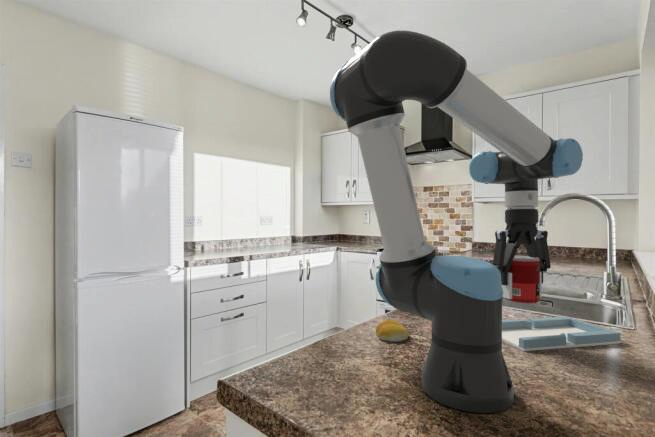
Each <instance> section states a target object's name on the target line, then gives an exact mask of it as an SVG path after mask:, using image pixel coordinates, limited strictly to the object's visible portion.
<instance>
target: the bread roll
mask: <svg viewBox="0 0 655 437" xmlns="http://www.w3.org/2000/svg"><path fill="white" fill-rule="evenodd" d="M375 334H376V335H377V336H378V339H380V340H381V341H385V342H391V343H392V342H393V343H394V342H395V343H398V342H403V341H405V340H407V339H408V338H409V331H408V329H407V327H405V326H404V325H403V323H401V322H400V321H397V320H394V319H386V320H383V321H381V322H379V324H377V325H376V326H375Z"/></svg>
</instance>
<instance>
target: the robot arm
mask: <svg viewBox="0 0 655 437" xmlns="http://www.w3.org/2000/svg"><path fill="white" fill-rule="evenodd" d="M329 88H330V89H329V99H330V103H331V107H332V109H333V111H334V113H335V114H336V116H339V117H340V118H341V120H342V121H345V122H346V126H347V127H346V128H347V131H348V132H349V133H350V134H352V135H354V136H355V137H356V138H357V141H358V145H359V148H360V152H361V156H362V157H361V158H362V160H363V166H364V170H365V174H366V178H367V182H368V185H369V191H370V195H371V199H372V203H373V206H374V207H373V208H374V211H375V216H376V218H377V223H378V227H379V231H380V232H379V233H380V236H381V237H380V238H381V241H382V244H383V250H382V251H381V252H380V254H379V263H380V264H379V265H378V267H377V269H378V270H377V272H375V285H376V286H375V287H376V290H377V292H378V294H379V296H380V297H381V299H382V300H383V301H384V302H385V303H386V304H387V305H389V306H390V307H393V309H396V310H397V311H400V312H403V313H408V314H411V315H413V316H416V317H419V318H422V319H424V320H427V321H430V322H431V343H430V346H429V350H428V353H427V356H426V358H425V362H424V364H423V367H422V370H421V388H422V390H423V391H424V393H425V394H426V395H427V396H428V397H429V398H431V399H433V400H434V401H436V402H437V403H439V404H442V405H443V406H446V407H449V408H452V409H455V410H459V411H462V412H463V411H464V412H467V413H468V412H469V413H477V414H491V413H492V414H494V413H499V412H502V411H505V410H507V409H509V408H511V406H512V405H513V403H514V394H515V393H514V384H513V382H512V379H511V376H510V375H511V374H510V373H509V370H508V366H507V363H506V360H505V358H504V354H503V348H502V347H503V341H502V320H503V298H505V299H506V298H508V299H512V273H509V270H510V267H511V265H512V260H513V258H514V256H516V253H517V251H518V249H519V248H520V246H523V247H524V248H525V249H526V253H527V254H528V255H527V256H529V257H534V258H536V257H538V258H539V260H540V298H542V292H543V291H542V287H543V283H544V273H546V272H547V271H548V270H549V269H550V268H551V267H552V265H551V259H550V253H549V245H548V235H549V233H548V231H547V230H540V229H538V227H537V224H538V223H539V210H538V209H537V207H539V180H543V179H553V178H554V179H558V178H561V177H565V176H573V175H575V174H576V173H578V171H580V169H581V167H582V163H583V154H584V153H583V150H582V147H581V144H580V142H579V141H577V140H576V139H574V138H570V137H568V138H559V139H557V140H555V139H553V138H552V137H551V136H550V135H548V133H546V132H545V131H543V129H541V128H540V127H539V126H538V125H536V124H535V123H534V122H532V120H530V119H529V118H527V116H525V115H524V114H523V113H521V112H520V111H519V110H518V109H517V108H515V106H514V105H511V104H510V103H509V102H508V101H507V100H505V99H504V98H503V97H502V96H500V95H499V94H498V93H497V92H496V91H494V90H493V89H491V87H489V85H487V84H486V83H484V82H483V81H482V80H481V79H479V78H478V77H477V76H476V75H475V74H474V73H472V72H471V71H470V70H468V62H467V60H466V58H465V57H464V56H462V55H461V54H460V53H459V52H458V51H456V50H455V49H454V48H453V47H451V46H450V45H448V44H447V43H445V42H443V41H440V40H439V39H436V38H434V37H432V36H430V35H427V34H423V33H419V32H416V31H410V30H393V31H388V32H384V33H382V34H380V35H379V36H378V37H376V38H375V39H373V40H372V41H371V42H370V43H369V44H368V45H367V46H366V47H365V48H363V49H362V50H361V51H359V52H358V53H357V54H356V55H355V56H354V57H352V58H350V59H348V60H347V61H346V62H344V64H343V65H342V66H341V67H340V68H339V70H337V72H336V73H335V75H334V76H333V78H332V80H331V83H330V87H329ZM404 101H415V102H419V103H420V104H421V105H424V106H425V107H426V108H429V109H434V108H438V109H440V110H441V111H442V112H444V114H445V113H446V114H447V115H448V116H450V117H451V118H453V119H454V120H456V121H457V122H458V123H459V124H462V126H464V127H465V128H467V129H468V130H469V131H471V132H472V133H474V134H475V135H477V136H478V137H479V138H481V139H482V140H483V141H486V142H487V143H488V144H489V145H491V146H493V147H494V148H495V149H496V150H498V151H495V152H494V151H491V150H487V151H480V152H477V153H476V154H475V155H473V156H472V158H471V160H470V162H469V164H468V166H469V168H468V172H469V175H470V178H472V180H473V181H475V182H477V183H481V184H484V185H487V184H489V185H490V184H491V185H492V184H493V185H494V184H496V185H504V207H505V208H507V209H505V210H504V222H505V224H506V227H505V229H504V230H496V231H495V232H494V236H495V245H494V251H493V252H494V253H493V259H492V263H490V262H489V261H486V260H483V259H479V258H473V257H469V256H462V255H454V254H453V255H452V254H451V255H449V254H446V255H445V254H444V255H443V254H442V255H438V256H437V253H436V249H435V245H434V244H432V243H431V242H429V241H427V240H426V238H425V235H424V234H425V233H424V230H423V225H422V222H421V221H422V220H421V216H420V212H419V206H418V202H417V199H416V194H415V189H414V186H413V182H412V177H411V173H410V172H411V171H410V168H409V163H408V158H407V156H406V155H407V154H406V150H405V145H404V142H403V141H404V140H403V136H402V133H401V128H400V127H401V126H400V125H401V123H402V121H403V120H404V118H405V116H406V113H405V109H404V105H403V104H404V103H403V102H404Z"/></svg>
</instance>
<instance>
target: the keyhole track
mask: <svg viewBox="0 0 655 437" xmlns="http://www.w3.org/2000/svg"><path fill="white" fill-rule="evenodd" d="M621 340H622V339H621V332H619V331H616V330H612V329H609V328H605V327H602V326H599V325H596V324H593V323H589V322H588V321H583V320H580V319H577V318H573V317H570V316H553V317H541V318H540V317H537V318H528V319H527V320H526V319H525V320H522V319H505V320H503V319H502V342H504V343H505V344H506V343H507V344H508V345H511V347H514V348H516V349H518V350H520V351H523V352H531V351H532V352H533V351H541V350H542V351H544V350H555V349H568V348H569V349H570V348H578V347H579V348H580V347H593V346H605V345H606V346H607V345H618V344H621V342H622V341H621Z"/></svg>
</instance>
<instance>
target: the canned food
mask: <svg viewBox="0 0 655 437" xmlns="http://www.w3.org/2000/svg"><path fill="white" fill-rule="evenodd" d="M509 273H512V299H508V298H505V300H506V301H511V302H515V303H519V304H520V303H521V304H536V303H538V302H540V299H541V297H540V260H539V258H538V257H536V258H534V257H529V255H515V256H514V258H513V260H512V265H511V267H510V270H509Z"/></svg>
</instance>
